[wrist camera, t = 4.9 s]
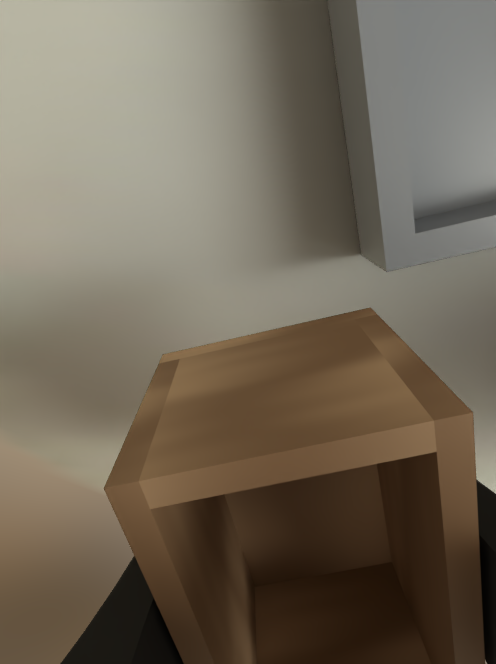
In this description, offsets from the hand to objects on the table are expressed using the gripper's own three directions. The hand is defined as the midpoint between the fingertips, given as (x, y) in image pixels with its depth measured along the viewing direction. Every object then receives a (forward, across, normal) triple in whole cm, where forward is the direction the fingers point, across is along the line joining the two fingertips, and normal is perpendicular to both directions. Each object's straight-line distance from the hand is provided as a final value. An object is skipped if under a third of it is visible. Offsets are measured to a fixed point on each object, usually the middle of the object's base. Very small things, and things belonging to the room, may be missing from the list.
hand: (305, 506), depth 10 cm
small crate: (+1, 0, 0) cm, 1 cm away
